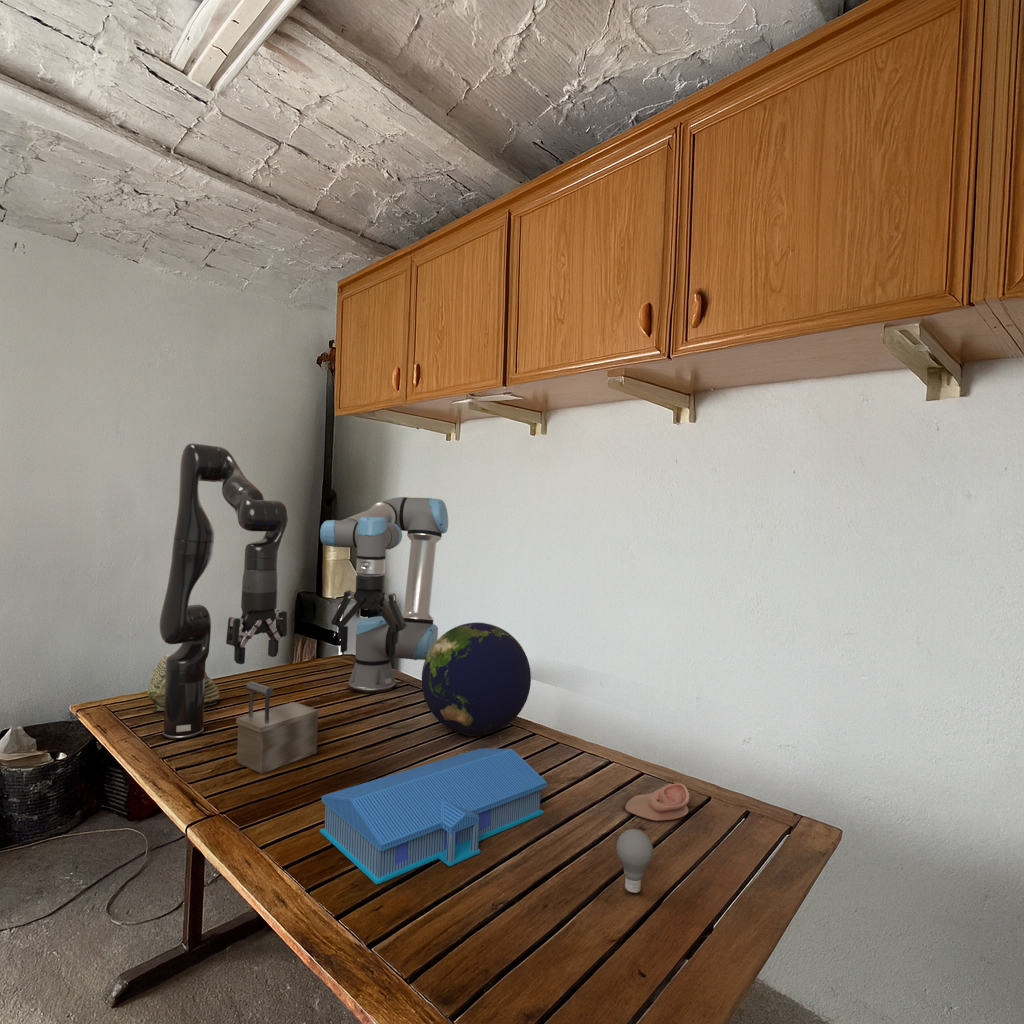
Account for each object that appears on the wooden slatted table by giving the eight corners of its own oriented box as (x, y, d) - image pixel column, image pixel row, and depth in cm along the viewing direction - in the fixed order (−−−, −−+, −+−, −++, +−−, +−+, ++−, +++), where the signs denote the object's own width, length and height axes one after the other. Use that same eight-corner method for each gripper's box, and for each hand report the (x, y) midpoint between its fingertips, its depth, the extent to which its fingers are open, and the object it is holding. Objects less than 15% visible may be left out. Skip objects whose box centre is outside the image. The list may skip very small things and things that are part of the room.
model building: (386, 894, 102) (389, 832, 102) (318, 830, 120) (320, 778, 120) (555, 819, 128) (557, 770, 128) (478, 776, 146) (480, 733, 146)
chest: (261, 774, 143) (262, 732, 143) (236, 762, 149) (238, 722, 148) (317, 753, 156) (318, 714, 156) (292, 743, 161) (293, 706, 161)
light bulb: (610, 879, 108) (613, 822, 108) (644, 879, 109) (647, 822, 109) (619, 902, 102) (622, 840, 102) (655, 901, 103) (658, 840, 103)
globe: (398, 740, 166) (402, 626, 165) (451, 707, 194) (455, 609, 193) (502, 762, 155) (508, 640, 154) (543, 724, 182) (548, 620, 182)
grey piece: (260, 732, 143) (262, 691, 142) (235, 722, 148) (237, 682, 148) (318, 714, 156) (319, 676, 156) (293, 706, 161) (295, 669, 161)
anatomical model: (625, 797, 130) (626, 774, 142) (624, 816, 131) (626, 791, 142) (692, 806, 128) (688, 782, 139) (691, 826, 128) (687, 800, 139)
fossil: (144, 707, 182) (145, 655, 182) (212, 696, 194) (213, 647, 194) (151, 716, 175) (153, 662, 175) (221, 703, 188) (223, 653, 188)
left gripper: (243, 594, 135) (239, 669, 135) (296, 587, 147) (293, 656, 147) (221, 589, 139) (217, 663, 139) (275, 583, 151) (271, 651, 151)
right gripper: (320, 573, 167) (317, 652, 168) (410, 579, 163) (407, 660, 164) (332, 570, 175) (330, 646, 175) (419, 575, 171) (416, 653, 171)
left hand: (256, 659), depth 143 cm, fingers open, 8 cm apart
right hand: (367, 653), depth 170 cm, fingers open, 13 cm apart
